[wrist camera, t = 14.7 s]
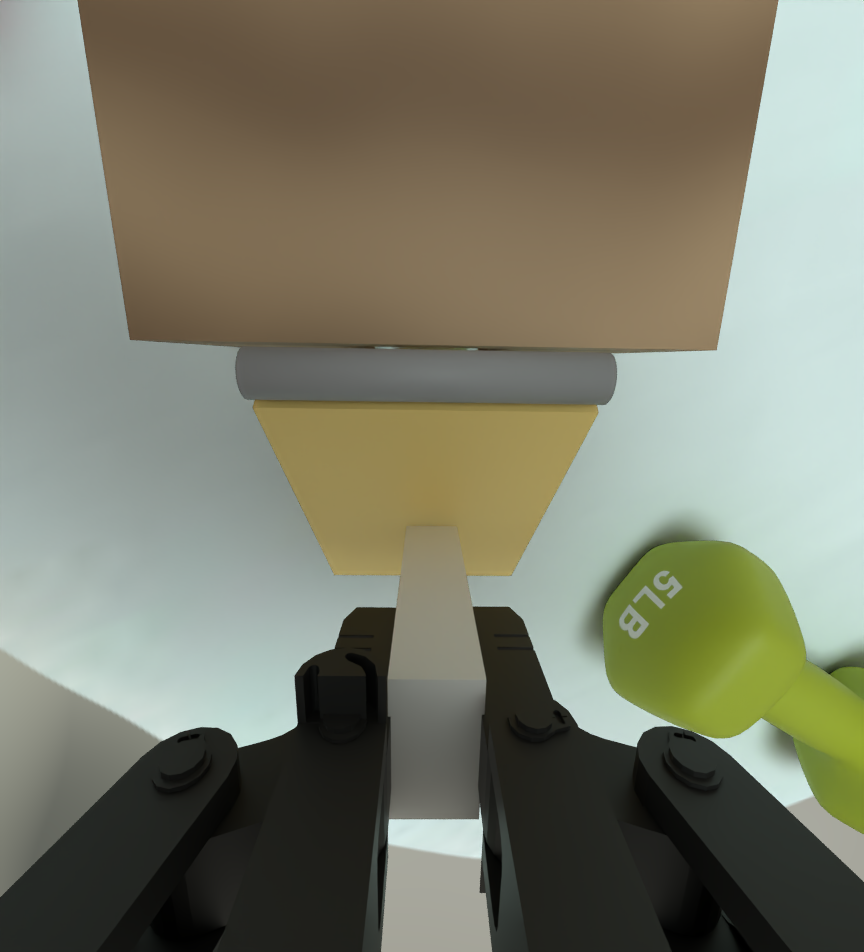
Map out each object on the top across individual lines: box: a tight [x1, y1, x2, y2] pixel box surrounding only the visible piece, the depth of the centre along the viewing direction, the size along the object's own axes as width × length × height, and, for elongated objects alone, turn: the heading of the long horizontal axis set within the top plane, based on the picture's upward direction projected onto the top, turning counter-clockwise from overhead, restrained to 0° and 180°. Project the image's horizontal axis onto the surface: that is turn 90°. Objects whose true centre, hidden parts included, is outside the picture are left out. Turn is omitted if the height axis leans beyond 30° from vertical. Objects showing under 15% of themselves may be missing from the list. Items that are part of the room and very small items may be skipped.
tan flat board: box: [235, 346, 617, 576], centre depth 13 cm, size 11×7×1 cm
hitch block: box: [78, 0, 778, 353], centre depth 12 cm, size 10×12×10 cm
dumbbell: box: [603, 541, 864, 834], centre depth 19 cm, size 16×8×7 cm, turn 57°
